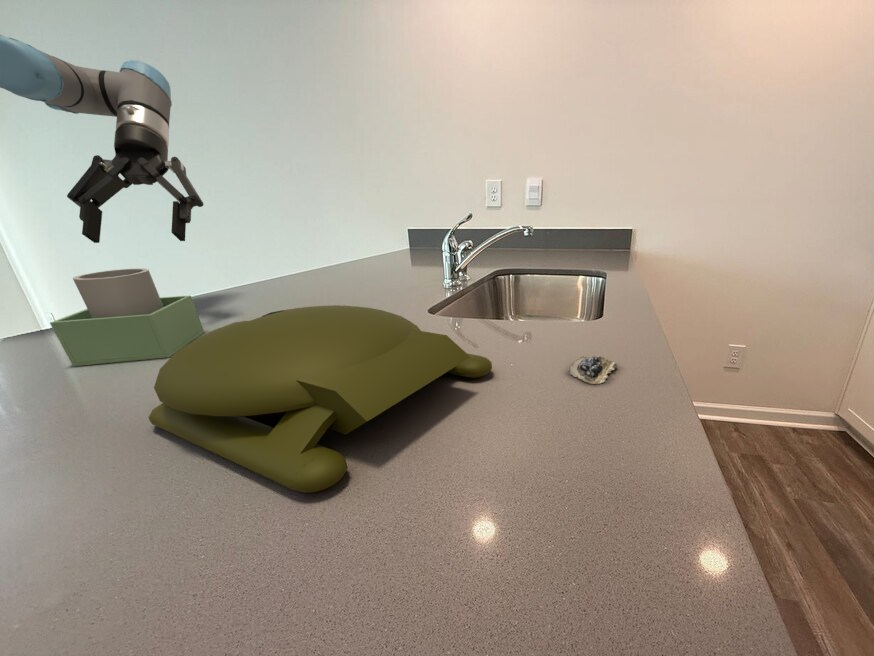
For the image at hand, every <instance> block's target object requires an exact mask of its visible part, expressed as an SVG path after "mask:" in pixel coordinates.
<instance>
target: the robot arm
mask: <svg viewBox="0 0 874 656" xmlns="http://www.w3.org/2000/svg"><path fill="white" fill-rule="evenodd" d="M0 89H3V90H5V91H8V92H10V93H12V94H14V95H16V96H18V97H22V98H25V99H28V100H31V101H35V102H36V101H37V102H41V103H44V104H45V106H47V107H48V108H50V109H53V110H56V111H61V112H66V113H71V114H76V115H77V114H78V115H79V114H87V115H93V116H103V117H104V116H105V117H116V122H115V132H114V142H113V148H114V152H115V153H114V154H115V155H114V157H113V158H112V159H106V158H105V159H104V158H102V156H101V155H99V154H96V155H94V156H92V160H91V164H90V166H89V167H88V169H87V170H86V171H85V172H84V174H82V176H80V178H79V179H78V181H77V182H76V183H75V184H74V186H73V187H72V188H71V189H70V190H69V192H68V193H67V194H66V197H67V198H68V199H69V200H70V201H71V202H73V203H74V204H75V205H76V206H78V208H79V216H78V217H79V220H80V221H81V222H82V229H81V235H83V236H84V237H85V238H87V239H88V240H90V241H91V242H92V243H94V244H100V242H101V230H102V219H103V211H102V210H101V209H100V207H102V206H103V205H104V204H105V203H107V202H109V200H110V199H112V198H113V197H114V196H115V195H117V194H118V193H119V192H120V191H122V190H123V189H129V188H130V186H132V185H133V186H140V185H147V186H153V185H154V184H155V183H158V184H159V185H160V186H161V187H162V188H163V189H165V190H166V192H168V194H170V195H171V196H172V197H173V198H174V199H175V200H176V201H175V200H174V201H172V213H171V231H170V233H172V235H173V236H174V237H176V238H177V239H178V240H179V242H186V229H187V224H190V223H191V221H192V209H194V207H199V208H202V207H204V202H203V200H202V199H201V196H200V195H199V193H198V192H197V191H196V188H194V185H193V183H192V182H191V181H190V179H189V178H188V176H187V169H186V166H185V165H184V164H183V162H182V161H181V160H180V159H179V157H177V156H172V157H171V158H170V160H168V159H169V143H170V120H171V108H172V106H173V103H172V96H171V95H172V93H171V90H172V89H171V85H170V82H169V81H168V79H167V78H166V77H165V75H164V74H163V73H161V71H159V70H158V69H157V68H155V67H154V66H152V65H151V64H149V63H146V62H143V61H141V60H134V59H132V60H131V59H130V60H129V61H128V60H127V61H125V62H123V63H122V64H121V67H120V68H119V71H115V70H114V71H112V70H104V69H103V70H102V69H96V68H91V67H90V68H89V67H84V66H83V67H82V66H78V65H74V64H73V63H70V62H67V61H65V60H63V59H61V58H58V57H56V56H53V55H50V54H49V53H46V52H44V51H42V50H40V49H37V48H36V47H34V46H32V45H30V44H28V43H26V42H24V41H21V40H18V39H15V38H12V37H7V36H5V35H2V34H0ZM169 170H170V172H172V173H173V174H175V175H176V177H177V179H178V181H179V182H180V184H181V185H182V187H183V189H184V190H185V192H186V193H187V195H188V196H185V195H184V194H183V193H182V192H180V191H179V190H178V189H177V188H176V187H175V186H174V185H173V184H172V183H171V182H170V181H169V180H167V178H165V177H164V176H165V175H166V174H167V173H168V171H169ZM120 175H121V176H122V178H123V179H122V178H121V176H120Z"/></svg>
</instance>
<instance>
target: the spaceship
mask: <svg viewBox="0 0 874 656" xmlns="http://www.w3.org/2000/svg"><path fill="white" fill-rule="evenodd" d="M492 369H493V363H492V361H491V360H490V359H488V357H485V356H482V355H478V354H473V353H468V352H466V351H465V350H464V349H463V348H462V347H460V345H458V344H457V343H456V342H455V341H454V340H453V339H452V338H450V336H448V335H447V334H441V333H436V332H429V331H424V330H421V329H420V328H419V326H418V325H416V324H415V323H414V322H412V321H410V320H409V319H407V318H405V317H403V316H402V315H398V314H396V313H393V312H389V311H387V310H382V309H377V308H373V307H366V306H354V305H339V304H338V305H336V304H334V305H315V306H304V307H296V308H295V307H294V308H288V309H283V310H276V311H272V312H268V313H267V314H263V315H261V316H260V317H257V318H254V319H251V320H242V321H236V322H232V323H230V324H229V323H228V324H227V325H224V326H222V327H219V328H216V329H214V330H211V331H209V332H206V333H204V334H202V335H200V336H198V337H197V338H196V339H194V340H193V341H191V342H190V343H189V344H187V345H186V346H184V347H183V348H181V349H180V350H178V351H177V352H176V353H174V354H173V355H172V356H170V357H169V359H168V360H167V361H166V362H165V363H164V364H163V365H162V366H161V367H160V368H159V371H158V373H157V377H156V380H155V383H154V386H153V389H154V391H155V393H156V396H157V398H158V400H159V402H161V403H160V404H159V405H157V406H156V407H154V408H153V409H152V410H151V412H150V413H149V416H148V420H149V422H150V423H151V425H153V426H155V427H157V428H159V429H160V430H164V431H166V432H167V433H170V434H172V435H175V436H176V437H178V438H180V439H183V440H184V441H187V442H188V443H191V444H194V445H195V446H198V447H199V448H202V449H205V450H206V451H209V452H210V453H213V454H215V455H217V456H219V457H221V458H224V459H225V460H227V461H230V462H232V463H235V464H237V465H239V466H241V467H243V468H245V469H247V470H249V471H251V472H253V473H256V474H257V475H260V476H262V477H264V478H267V479H269V480H271V481H273V482H275V483H277V484H279V485H281V486H283V487H285V488H288V489H290V490H293V491H294V492H301V493H304V494H305V493H306V494H308V493H317V492H321V491H323V490H327V489H329V488H330V487H332V486H334V485H336V484H337V483H338V482H339V481H340V480H341V479H342V478H343V477H344V475H345V473H346V472H347V469H348V464H347V460H346V456H344V455H343V454H341V453H340V452H338V451H336V450H333V449H331V448H329V447H326V446H324V445H320V444H318V443H319V441H320V440H321V438H322V437H323V436H324V434H325V433H326V431H327V430H328V429H329V430H332V431H334V432H337V433H341V434H343V435H348V434H349V433H351V432H353V431H355V430H356V429H357V428H359V427H360V426H363V425H364V424H365V423H368V422H369V421H370V420H372V419H373V418H376V417H377V416H379V415H381V414H382V413H383V412H385V411H386V410H389V409H390V408H391V407H393V406H395V405H396V404H398V403H400V402H401V401H404V400H405V399H406V398H407V397H409V396H411V395H412V394H415V392H417V391H419V390H420V389H422V388H423V387H425V386H427V385H428V384H430V383H431V382H433V381H435V380H436V379H438V378H439V377H442V376H443V375H444V374H450V375H454V376H460V377H464V378H471V379H473V378H474V379H475V378H480V377H484V376H486V375H488V374H489V373H490V372H491V371H492ZM284 412H285V413H284ZM277 413H284V415H283V416H282V417H281V418H280V420H279V421H278V422H277V424H276V425H275V426H274V427H272V426H270V425H267V424H264V423H262V422H259V421H257V420H255V419H252V418H248V417H247V416H250V417H251V416H257V415H266V414H267V415H268V414H277Z"/></svg>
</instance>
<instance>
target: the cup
mask: <svg viewBox="0 0 874 656" xmlns="http://www.w3.org/2000/svg"><path fill="white" fill-rule="evenodd" d="M72 280H73V283H74V284H75V287H76V288H77V290H78V293H79V294H80V296H81V298H82V300H83V303H84V304H85V306H86V309H88V311H89V313H90V315H91V317H92V319H94V318H107V317H121V316H134V315H147V314H151V313H153V312H155V311H157V310H159V309H161V308H163V304H162V302H161V299H160V298H161V297H160V294H159V292H158V290H157V287H156V284H155V282H154V279H153V277H152V275H151V273H150V270H149V269H148V268H121V269H112V270H101V271H96V272H90V273H84V274H79V275H76V276H73V277H72Z"/></svg>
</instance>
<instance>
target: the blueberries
mask: <svg viewBox="0 0 874 656" xmlns="http://www.w3.org/2000/svg"><path fill="white" fill-rule="evenodd" d="M617 367H618V364H617V363H616V362H614V361H612V360H609V359H606V358H605V357H604V356H595V355H594V356H591V357H588V356H584V355H583V356H580V357H579V358H577V359H575V361H574V362H573V364H572V365H571V366H570V367H569V370H570V372H569V375H571V376H573V377H574V378H577V379H580V380H581V381H583V383H587V384H589V385H597V384H598V385H600V384H602V383H605V382H606V379H608V374H612V371H614V370H615V369H616V368H617Z"/></svg>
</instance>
